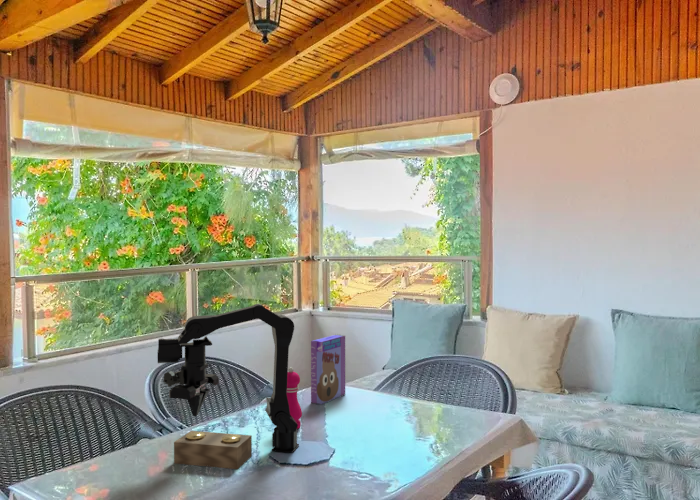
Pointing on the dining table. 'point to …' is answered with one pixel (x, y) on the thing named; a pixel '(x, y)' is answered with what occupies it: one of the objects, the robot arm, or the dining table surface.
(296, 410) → the pepper mill
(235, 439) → the peg
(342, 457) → the dining table surface
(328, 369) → the cereal box
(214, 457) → the block
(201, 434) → the peg
